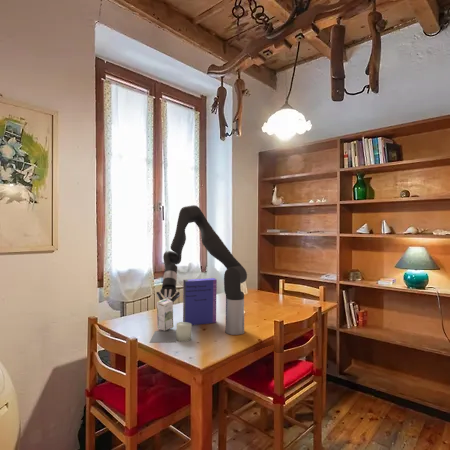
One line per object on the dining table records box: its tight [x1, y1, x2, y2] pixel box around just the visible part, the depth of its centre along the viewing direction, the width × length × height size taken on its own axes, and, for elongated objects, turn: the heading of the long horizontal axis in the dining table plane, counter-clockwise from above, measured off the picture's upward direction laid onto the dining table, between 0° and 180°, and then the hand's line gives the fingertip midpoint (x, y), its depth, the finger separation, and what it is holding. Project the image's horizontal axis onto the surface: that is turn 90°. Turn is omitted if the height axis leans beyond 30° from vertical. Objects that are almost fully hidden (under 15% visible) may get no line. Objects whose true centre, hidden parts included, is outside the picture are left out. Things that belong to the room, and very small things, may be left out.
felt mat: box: [149, 330, 178, 343], centre depth 164 cm, size 12×15×1 cm
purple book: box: [182, 277, 218, 326], centre depth 187 cm, size 17×5×24 cm, turn 111°
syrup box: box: [156, 298, 174, 331], centre depth 174 cm, size 6×6×14 cm
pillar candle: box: [175, 321, 193, 343], centre depth 162 cm, size 7×7×7 cm
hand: (166, 308), depth 178 cm, fingers closed
